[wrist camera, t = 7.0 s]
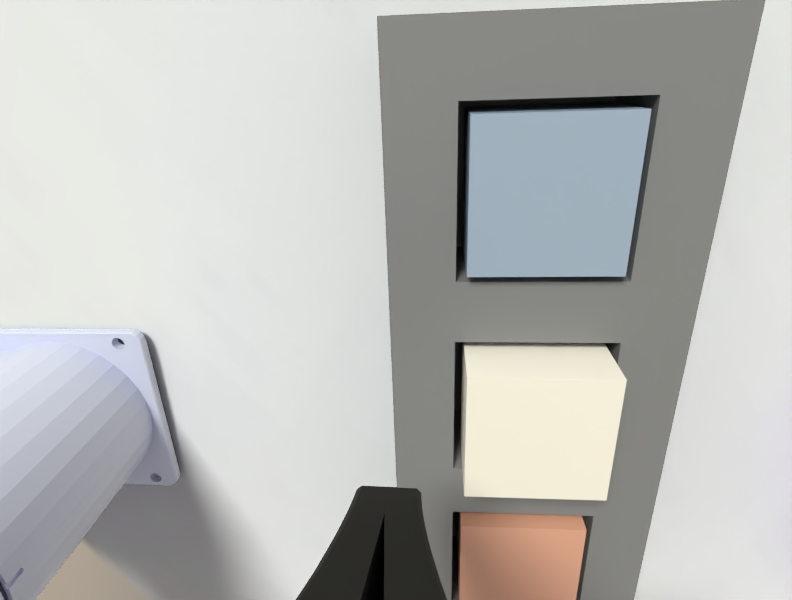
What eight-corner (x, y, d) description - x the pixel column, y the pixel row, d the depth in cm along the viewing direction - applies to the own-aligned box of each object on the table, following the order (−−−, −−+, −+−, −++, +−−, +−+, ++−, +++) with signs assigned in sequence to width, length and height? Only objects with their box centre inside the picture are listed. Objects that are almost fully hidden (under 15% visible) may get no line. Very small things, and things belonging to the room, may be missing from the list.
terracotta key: (456, 545, 23) (459, 608, 20) (458, 468, 21) (461, 526, 19) (557, 549, 23) (573, 614, 20) (567, 470, 21) (586, 530, 18)
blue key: (462, 245, 18) (467, 277, 15) (464, 106, 16) (470, 114, 13) (595, 243, 17) (626, 276, 14) (613, 101, 15) (651, 109, 13)
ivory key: (460, 435, 19) (464, 496, 17) (462, 330, 18) (467, 378, 15) (582, 438, 19) (606, 500, 16) (596, 330, 17) (626, 380, 14)
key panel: (408, 554, 26) (403, 635, 22) (390, 28, 16) (377, 16, 13) (596, 561, 25) (623, 646, 21) (689, 15, 16) (765, -2, 12)
